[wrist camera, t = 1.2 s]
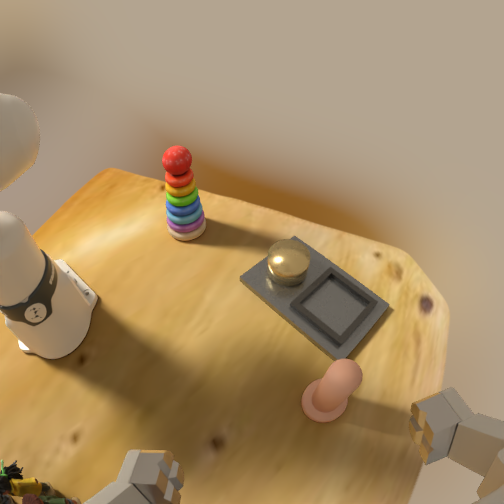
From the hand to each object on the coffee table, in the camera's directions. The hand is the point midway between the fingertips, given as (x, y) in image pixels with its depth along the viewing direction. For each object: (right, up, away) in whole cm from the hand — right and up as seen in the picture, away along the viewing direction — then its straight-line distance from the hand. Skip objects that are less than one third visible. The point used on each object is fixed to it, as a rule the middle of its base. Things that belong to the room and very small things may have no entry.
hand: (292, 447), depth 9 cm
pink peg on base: (+9, -15, +31) cm, 36 cm away
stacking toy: (-14, +11, +54) cm, 57 cm away
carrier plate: (+9, -1, +44) cm, 45 cm away
